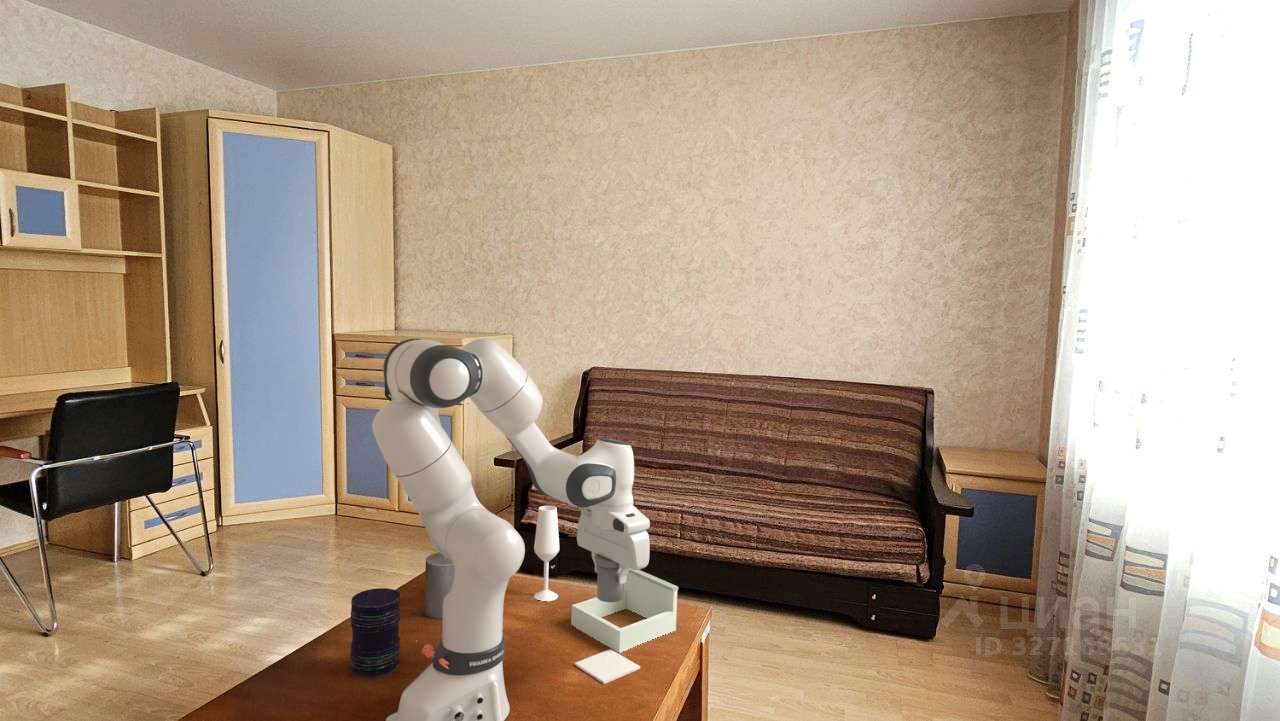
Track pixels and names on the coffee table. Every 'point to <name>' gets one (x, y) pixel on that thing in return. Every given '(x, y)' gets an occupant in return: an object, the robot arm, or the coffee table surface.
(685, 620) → the coffee table surface
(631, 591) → the frame
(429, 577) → the pillar candle
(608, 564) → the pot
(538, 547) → the champagne flute
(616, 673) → the mat
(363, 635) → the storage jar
